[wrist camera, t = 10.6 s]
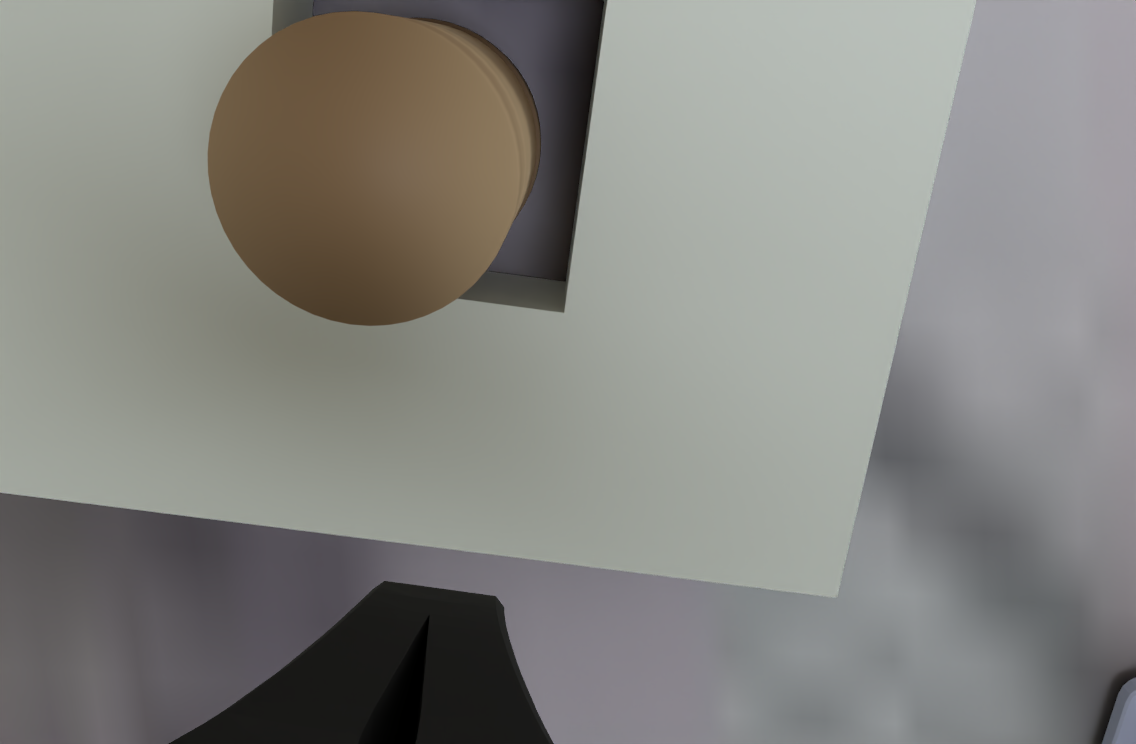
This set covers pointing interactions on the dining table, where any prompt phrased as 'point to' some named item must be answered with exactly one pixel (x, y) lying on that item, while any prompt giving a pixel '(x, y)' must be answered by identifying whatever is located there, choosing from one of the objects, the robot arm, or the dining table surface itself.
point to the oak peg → (372, 163)
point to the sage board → (486, 298)
